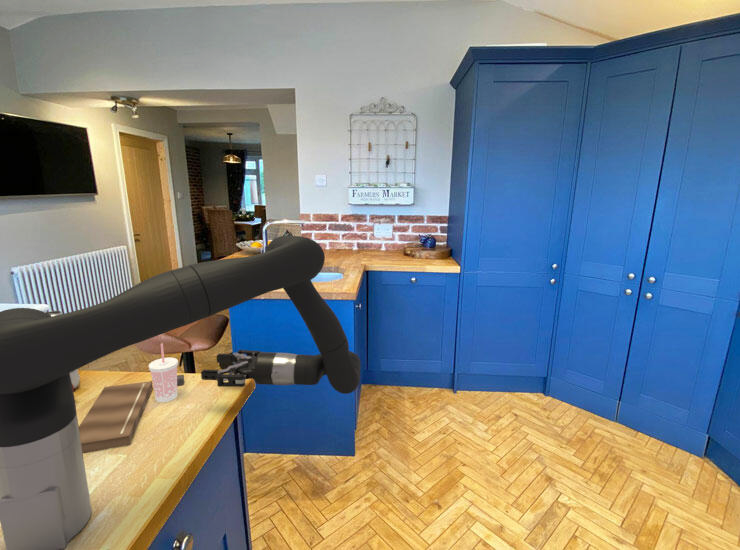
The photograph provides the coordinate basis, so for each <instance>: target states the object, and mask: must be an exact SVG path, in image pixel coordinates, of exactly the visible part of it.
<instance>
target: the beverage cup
mask: <svg viewBox="0 0 740 550" xmlns="http://www.w3.org/2000/svg"><path fill="white" fill-rule="evenodd" d="M160 349H161V351H160V353H161V358H157V359H155V360H153V361H151V362H150V363H149V364H148V370H149V371H150V376H151V381H152V387H153V390H154V391H153V392H154V396H155V397H154V398H155V401H156V402H158V403H167V402H171V401H173V400H174V399H176V398H177V397H178V386H177V375H178V366H179V364H178V363H179V360H178V359H177V358H175V357H165V353H164V352H165V351H164V343H163V342H161V343H160Z"/></svg>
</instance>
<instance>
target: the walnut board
mask: <svg viewBox="0 0 740 550" xmlns="http://www.w3.org/2000/svg"><path fill="white" fill-rule="evenodd" d="M184 383H185V376H184V374H177V387H181V386H184ZM153 390H154V387H153V381H152V380H151V381H150V380H149V381H144V382H143V381H142V382H135V383H125V384H119V385H116V384H115V385H110V386H109V385H108V386H104V387H103V389H102V390H101V392H100V394H99V395H98V397H97V398H96V400H95V401H94V403H93V404H92V406H91V407H90V409H89V411H88V412H87V414H86V415H85V417H84V418H83V420H82V421H81V423H80V424H79V433H80V439H81V446H82V452H83V453H90V452H95V451H102V450H107V449H113V448H119V447H123V446H130V445H131V444H132V440H133V439H134V436H135V433H136V431H137V427H138V426H139V423H140V420H141V418H142V416H143V413H144V411H145V408H146V406H147V403H148V401H149V398H150V396H151V392H153Z"/></svg>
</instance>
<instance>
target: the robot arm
mask: <svg viewBox="0 0 740 550" xmlns="http://www.w3.org/2000/svg"><path fill="white" fill-rule="evenodd" d="M325 258H326V257H325V252H324V249H323V248H322V246H321V245H320V244H319V242H317V241H315V240H314V239H312V238H309V237H306V236H299V235H281V236H277V237H274V238H273V239H272V240H271V241H270V242H269V243H268V245H267V247H266V249H265V251H264V252H261V253H258V254H253V255H250V256H243V257H240V256H239V257H234V258H233V257H232V258H224V259H223V258H222V259H216V260H208V261H203V262H198V263H197V262H196V263H192V264H189V265H186V266H182V267H179V268H175V269H172V270H168V271H165V272H161V273H159V274H157V275H153V276H152V277H148V278H146V279H144V280H143V281H141V282H139V283H137V284H135V285H132V287H129V288H128V289H126V290H124V291H122V292H121V293H119V294H117V295H116V296H113V297H111V298H109V299H107V300H105V301H102V302H100V303H98V304H94V305H91V306H88V307H84V308H80V309H76V310H74V311H69V312H66V313H62V314H61V315H57V316H51V315H49V314H47V313H45V312H46V311H42V310H39V309H35V308H30V307H15V308H14V307H13V308H8V309H4V310H2V311H0V529H1V531H2V535H3V540H4V544H5V545H4V546H5V550H62V549H65V548H66V547H67V545H68V543H69V541H71V540H72V539H73V538H74V537H75V536H76V535H78V534H79V533H80V531H82V530H83V529H84V528H85V526H86V525H88V524H87V523H88V522H89V520H90V518H91V516H92V504H91V498H90V497H91V496H90V493H89V492H90V491H89V485H88V480H87V473H86V468H85V467H86V466H85V460H84V459H85V458H84V454H83V452H82V446H81V439H80V433H79V426H80V424H79V420H78V414H77V413H78V412H77V405H76V399H75V393H73V388H72V382H71V377H70V372H72V371H74V370H76V369H77V370H78V369H80V368H82V367H85V366H87V365H89V364H90V363H93V362H96V361H97V360H99V359H101V358H103V357H105V356H107V355H110V354H112V353H115V352H117V351H119V350H122V349H124V348H128V347H129V346H133V345H136V344H138V343H141V342H144V341H146V340H150V339H153V338H156V337H158V336H160V335H163V334H165V333H168V332H171V331H174V330H176V329H179V328H183V327H185V326H188V325H191V324H193V323H195V322H200V321H201V320H204V319H207V318H209V317H211V316H214V315H216V314H218V313H221V312H222V311H225V310H228V309H232V308H233V307H235V306H238V305H241V304H243V303H245V302H247V301H250V300H253V299H254V298H257V297H260V296H262V295H264V294H267V293H270V292H274V291H278V290H281V289H282V290H283V291H284V292H285V293H286V294H287V296H288V298H289V299H290V301H291V302H292V303H293V305H294V307H295V309H296V310H297V312H298V313H299V315H300V317H301V318H302V320H303V322H304V324H305V325H306V328H307V329H308V331H309V333H310V335H311V338H312V339H313V342H314V344H315V346H316V347H317V350H318V351H319V354H295V353H289V352H271V351H270V352H269V351H268V352H267V351H261V350H252V349H251V350H248V349H238V350H237V352H234V353H218V354H217V355H216V362H217V364H218V363H219V364H232V365H229V366H228V367H227V368H224V369H220V370H219V369H203V370H202V371H201V372H200V378H201V380H204V381H216V382H217V383H216V384H217V385H216V386H217V387H220V388H221V387H223V388H226V387H227V388H230V387H231V388H237V387H238V388H243V387H245V386H246V380H250V379H251V380H254V382H255V383H256V385H267V386H268V385H269V386H270V385H271V386H272V385H273V386H292V385H296V386H297V385H298V386H300V385H301V386H314V385H318V384H319V382H321V379H322V378H323V377H324V376H327V379H328V382H329V383H330V385H331V387H332V388H333V389H334V390H335V391H336V392H338V393H340V394H345V395H348V394H351V393H353V392H355V391H356V390H357V389H358V387H359V385H360V380H361V367H362V366H361V363H362V362H361V358H360V356H359V355H358V354H357V353H355V352H353V351H350V348H349V346H350V345H349V340H348V337H347V335H346V333H345V331H344V329H343V326H342V324H341V322H340V320H339V318H338V316H337V315H336V314H335V312H334V311H333V309H332V308H331V307H330V306H329V304H328V303H327V302H326V300H325V299H324V298H323V297H322V296H321V295H320V293H319V292H318V290H317V289H316V287H315V286H314V283H313V282H312V280H313V279H315V278H316V277H317V276H318V275H319V274H320V272H321V271H322V270H323V267H324V265H325Z"/></svg>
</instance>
